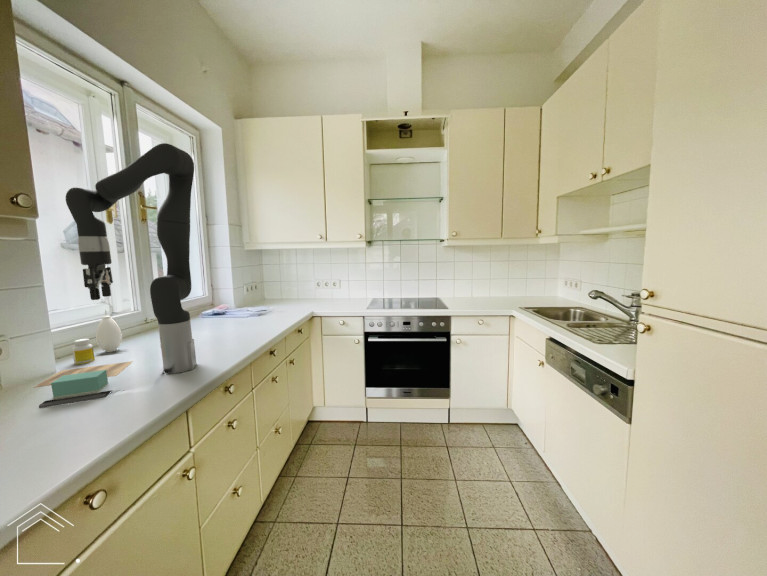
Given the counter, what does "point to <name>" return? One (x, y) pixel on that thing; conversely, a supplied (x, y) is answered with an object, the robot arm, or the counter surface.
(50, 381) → the board
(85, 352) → the supplement bottle
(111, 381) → the counter surface
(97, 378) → the block
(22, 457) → the counter surface
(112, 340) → the white vase
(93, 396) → the rubber mat
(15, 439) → the counter surface
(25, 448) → the counter surface
